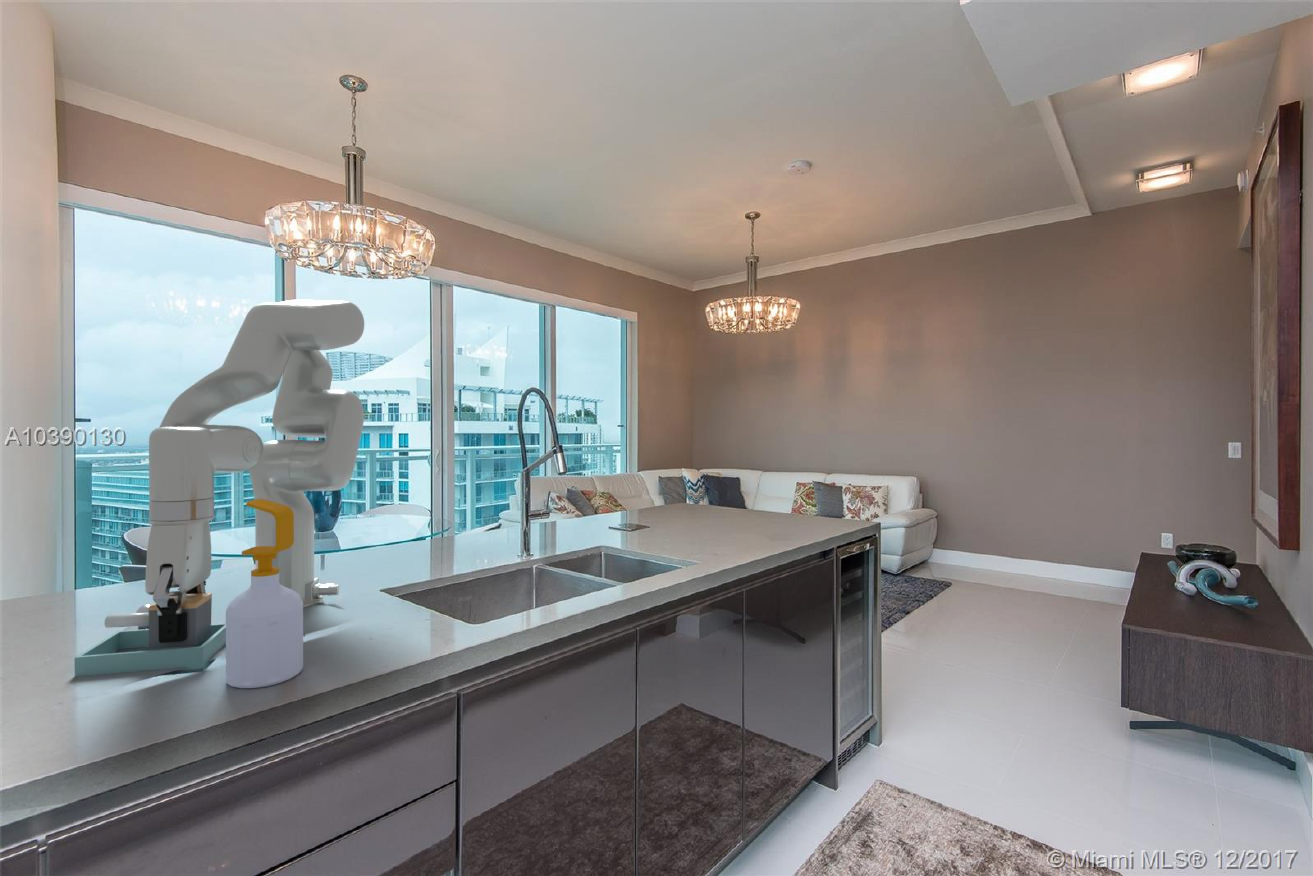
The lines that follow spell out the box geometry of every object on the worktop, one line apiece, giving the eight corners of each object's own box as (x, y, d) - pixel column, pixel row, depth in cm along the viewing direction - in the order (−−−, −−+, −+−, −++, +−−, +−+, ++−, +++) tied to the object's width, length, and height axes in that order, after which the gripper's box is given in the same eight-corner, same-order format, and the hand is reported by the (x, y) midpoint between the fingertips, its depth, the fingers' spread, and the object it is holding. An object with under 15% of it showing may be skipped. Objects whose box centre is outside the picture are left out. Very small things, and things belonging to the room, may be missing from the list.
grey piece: (192, 628, 103) (192, 595, 103) (167, 647, 95) (167, 611, 94) (127, 633, 100) (127, 598, 100) (96, 653, 92) (95, 615, 92)
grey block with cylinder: (210, 633, 93) (211, 593, 93) (195, 646, 88) (196, 603, 88) (118, 639, 90) (119, 596, 89) (96, 652, 84) (97, 607, 84)
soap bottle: (249, 663, 89) (249, 496, 88) (314, 662, 90) (314, 496, 89) (210, 690, 80) (209, 504, 79) (282, 689, 81) (282, 505, 80)
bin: (230, 645, 96) (230, 623, 96) (203, 671, 86) (202, 647, 86) (117, 654, 92) (117, 631, 92) (74, 683, 82) (74, 657, 82)
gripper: (178, 504, 96) (178, 618, 97) (119, 521, 80) (120, 658, 80) (233, 503, 98) (233, 614, 99) (187, 519, 82) (187, 652, 82)
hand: (182, 632), depth 90 cm, fingers closed on grey block with cylinder, 5 cm apart
